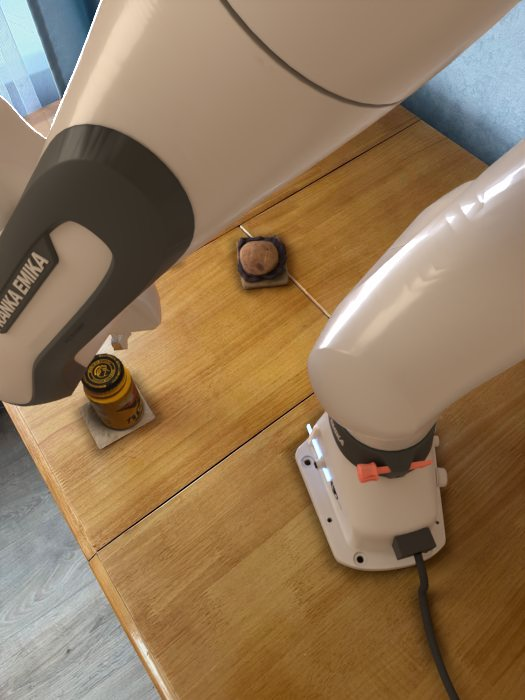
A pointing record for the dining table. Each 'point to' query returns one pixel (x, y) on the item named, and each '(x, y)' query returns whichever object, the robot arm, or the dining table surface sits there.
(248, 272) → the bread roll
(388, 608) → the dining table surface
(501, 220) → the robot arm
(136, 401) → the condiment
